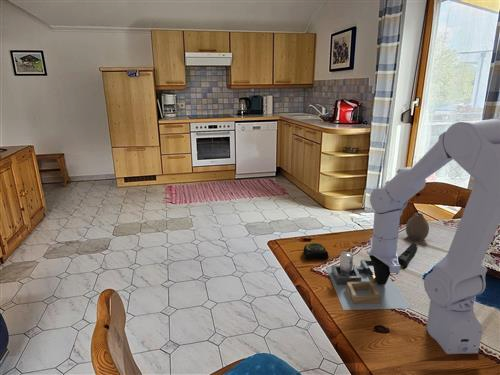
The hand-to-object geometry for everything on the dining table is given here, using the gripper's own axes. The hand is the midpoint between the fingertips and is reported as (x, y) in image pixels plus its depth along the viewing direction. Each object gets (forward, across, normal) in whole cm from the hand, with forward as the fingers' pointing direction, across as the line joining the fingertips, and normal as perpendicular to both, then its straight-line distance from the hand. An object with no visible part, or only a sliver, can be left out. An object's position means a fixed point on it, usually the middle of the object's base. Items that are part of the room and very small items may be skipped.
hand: (381, 283), depth 84 cm
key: (+1, -4, 0) cm, 4 cm away
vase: (+2, -28, +22) cm, 35 cm away
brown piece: (+1, +4, -6) cm, 7 cm away
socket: (+1, -5, -4) cm, 7 cm away
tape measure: (+2, -16, -14) cm, 21 cm away
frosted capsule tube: (+1, -4, -8) cm, 9 cm away
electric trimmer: (+2, -14, +12) cm, 19 cm away
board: (+2, 0, -4) cm, 4 cm away
